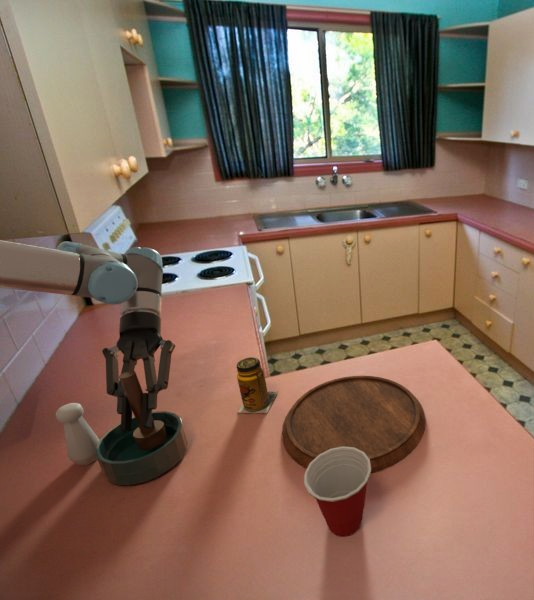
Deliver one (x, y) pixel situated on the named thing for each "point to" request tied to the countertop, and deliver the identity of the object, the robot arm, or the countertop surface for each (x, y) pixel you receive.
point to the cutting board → (355, 421)
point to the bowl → (140, 452)
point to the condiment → (253, 387)
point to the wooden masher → (142, 436)
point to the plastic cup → (340, 487)
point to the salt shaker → (77, 434)
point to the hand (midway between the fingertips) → (136, 428)
